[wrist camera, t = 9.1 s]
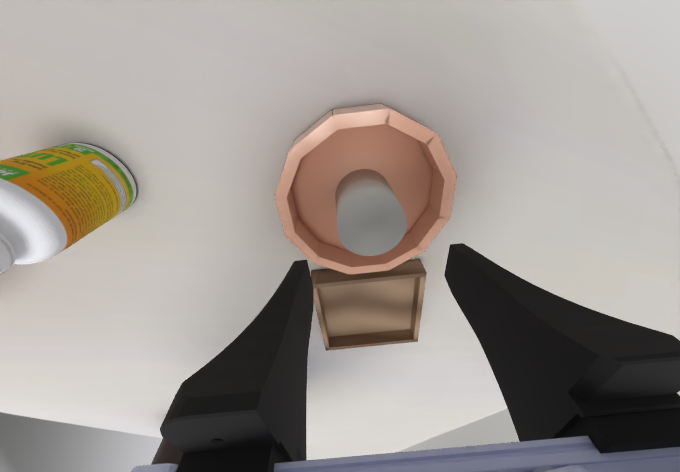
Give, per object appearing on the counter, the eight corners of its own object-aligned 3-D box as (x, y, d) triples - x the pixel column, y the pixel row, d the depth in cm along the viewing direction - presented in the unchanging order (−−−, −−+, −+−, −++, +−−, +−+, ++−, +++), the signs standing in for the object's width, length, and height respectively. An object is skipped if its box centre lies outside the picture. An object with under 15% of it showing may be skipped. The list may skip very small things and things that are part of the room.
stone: (389, 216, 21) (405, 252, 16) (338, 222, 21) (341, 259, 17) (390, 165, 18) (408, 192, 14) (332, 172, 18) (333, 200, 14)
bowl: (429, 244, 23) (441, 265, 21) (300, 258, 24) (297, 280, 21) (448, 95, 16) (470, 99, 14) (265, 117, 17) (254, 124, 14)
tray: (412, 326, 30) (417, 341, 29) (325, 335, 31) (325, 350, 29) (419, 259, 24) (426, 272, 23) (311, 270, 25) (310, 284, 23)
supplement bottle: (105, 133, 17) (-100, 186, 9) (153, 201, 20) (33, 288, 12) (38, 151, 17) (-216, 216, 9) (95, 215, 20) (-59, 307, 12)
